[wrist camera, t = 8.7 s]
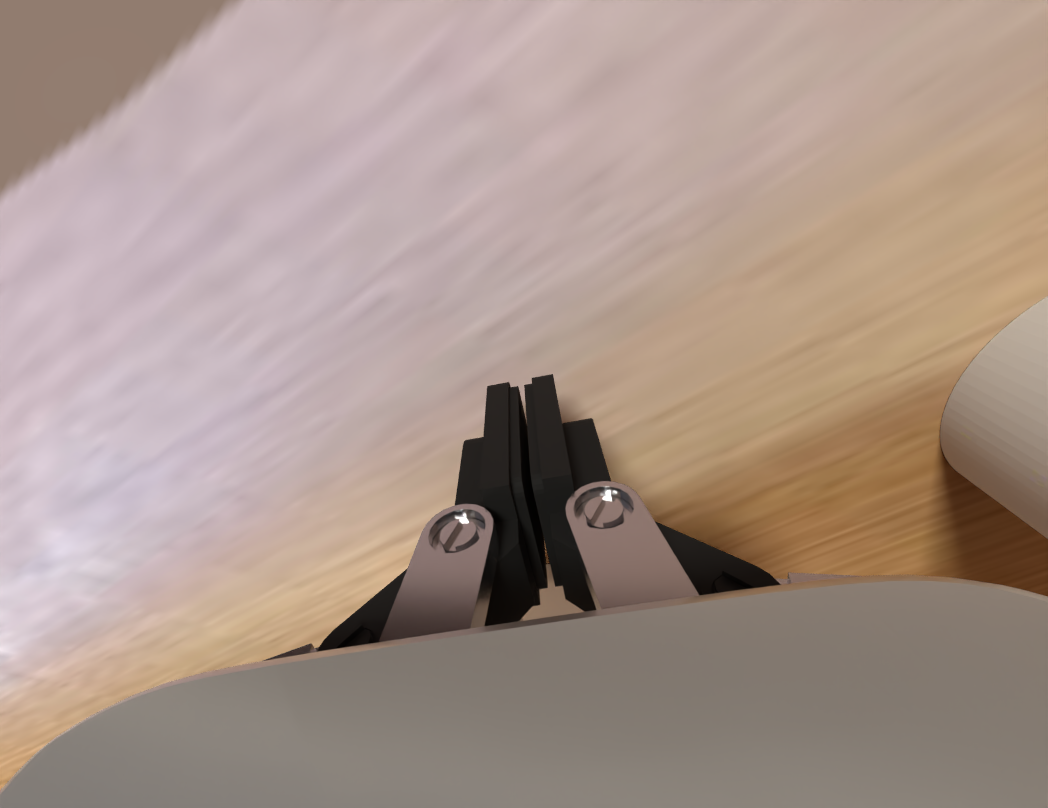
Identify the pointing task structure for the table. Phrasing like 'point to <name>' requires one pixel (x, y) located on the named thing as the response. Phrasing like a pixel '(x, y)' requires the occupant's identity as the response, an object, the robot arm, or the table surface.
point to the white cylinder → (1005, 419)
